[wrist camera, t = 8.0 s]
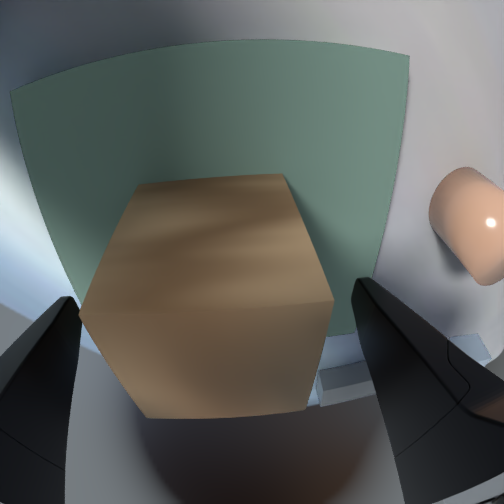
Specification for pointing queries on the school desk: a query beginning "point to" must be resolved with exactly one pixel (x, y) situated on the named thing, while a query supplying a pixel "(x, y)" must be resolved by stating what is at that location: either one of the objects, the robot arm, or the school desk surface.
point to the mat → (221, 142)
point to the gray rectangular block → (344, 383)
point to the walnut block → (211, 299)
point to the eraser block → (473, 347)
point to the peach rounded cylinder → (471, 222)
